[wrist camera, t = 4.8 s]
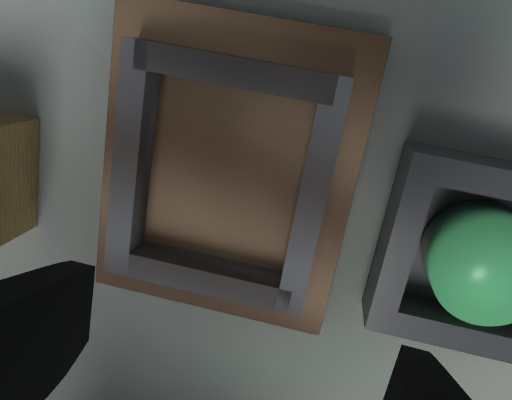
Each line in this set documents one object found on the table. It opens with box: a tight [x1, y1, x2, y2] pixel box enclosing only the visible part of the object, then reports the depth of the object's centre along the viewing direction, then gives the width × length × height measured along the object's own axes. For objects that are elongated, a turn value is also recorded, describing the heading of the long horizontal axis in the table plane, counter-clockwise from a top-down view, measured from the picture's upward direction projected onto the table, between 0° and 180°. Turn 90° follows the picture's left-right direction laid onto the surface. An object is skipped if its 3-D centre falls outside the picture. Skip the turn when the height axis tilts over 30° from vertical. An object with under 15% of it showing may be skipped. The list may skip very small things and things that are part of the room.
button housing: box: [362, 141, 512, 364], centre depth 18 cm, size 7×7×2 cm
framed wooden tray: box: [96, 0, 392, 335], centre depth 18 cm, size 12×10×2 cm
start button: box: [420, 200, 512, 326], centre depth 17 cm, size 4×4×2 cm
